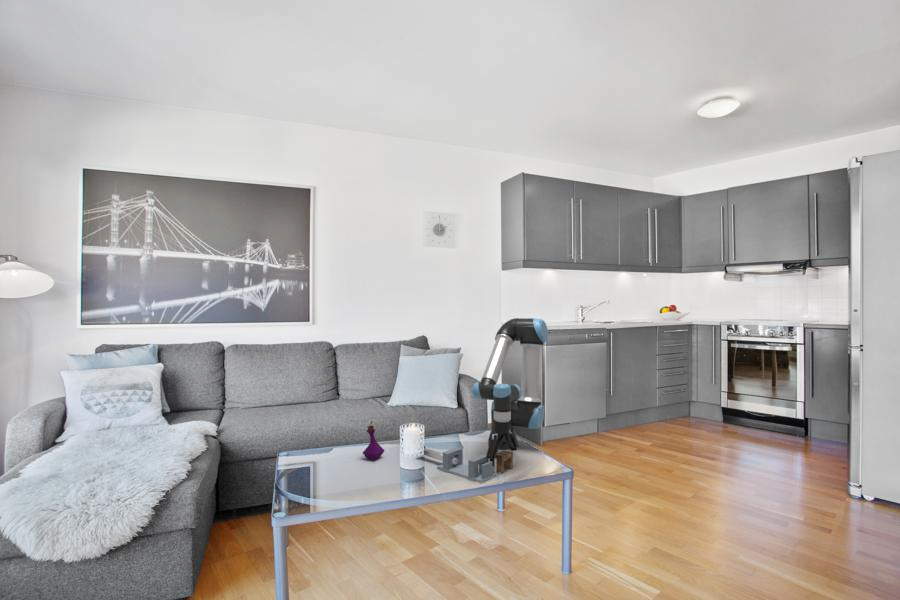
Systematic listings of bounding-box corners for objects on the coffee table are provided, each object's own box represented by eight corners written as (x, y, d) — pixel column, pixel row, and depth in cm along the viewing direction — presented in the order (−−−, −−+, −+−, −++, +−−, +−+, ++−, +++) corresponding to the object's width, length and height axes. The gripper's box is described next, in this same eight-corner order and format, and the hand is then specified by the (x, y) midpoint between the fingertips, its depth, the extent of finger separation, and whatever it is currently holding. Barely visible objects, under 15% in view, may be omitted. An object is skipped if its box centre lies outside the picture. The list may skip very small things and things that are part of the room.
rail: (452, 462, 214) (451, 445, 214) (496, 476, 197) (496, 457, 197) (436, 468, 206) (436, 450, 206) (481, 483, 190) (481, 464, 190)
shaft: (423, 453, 222) (423, 444, 222) (459, 465, 207) (459, 454, 207) (416, 456, 219) (416, 446, 219) (452, 467, 204) (452, 457, 204)
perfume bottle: (362, 459, 219) (361, 421, 219) (372, 454, 225) (371, 417, 225) (375, 462, 215) (374, 423, 215) (384, 457, 222) (384, 419, 222)
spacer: (503, 465, 209) (503, 450, 209) (512, 468, 206) (512, 452, 206) (492, 470, 203) (492, 454, 203) (502, 473, 200) (501, 457, 200)
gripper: (511, 413, 216) (511, 459, 216) (477, 424, 198) (478, 474, 198) (525, 416, 211) (525, 463, 211) (492, 427, 193) (492, 479, 193)
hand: (502, 469), depth 205 cm, fingers open, 13 cm apart
